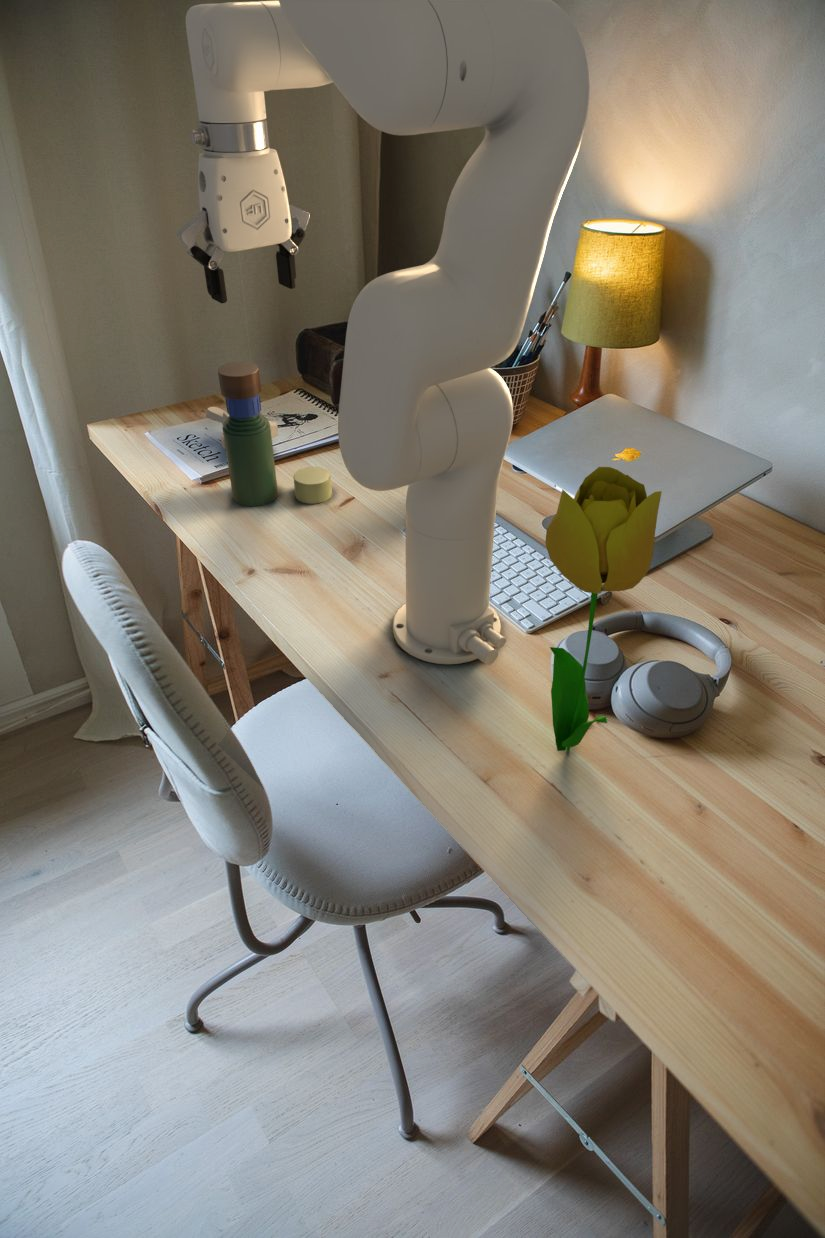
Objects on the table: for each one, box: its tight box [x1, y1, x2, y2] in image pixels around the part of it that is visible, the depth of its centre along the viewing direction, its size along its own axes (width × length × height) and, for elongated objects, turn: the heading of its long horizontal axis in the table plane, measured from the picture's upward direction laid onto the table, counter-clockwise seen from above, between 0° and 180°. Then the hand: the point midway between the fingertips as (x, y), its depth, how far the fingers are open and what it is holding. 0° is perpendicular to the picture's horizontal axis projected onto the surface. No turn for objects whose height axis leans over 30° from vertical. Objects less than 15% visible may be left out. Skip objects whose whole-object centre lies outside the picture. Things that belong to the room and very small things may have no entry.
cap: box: [224, 394, 262, 418], centre depth 113 cm, size 5×5×3 cm
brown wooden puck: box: [217, 361, 262, 400], centre depth 111 cm, size 5×5×3 cm
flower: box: [544, 466, 662, 753], centre depth 73 cm, size 9×8×30 cm
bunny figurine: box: [205, 406, 279, 450], centre depth 135 cm, size 10×5×15 cm
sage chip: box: [293, 466, 333, 505], centre depth 121 cm, size 5×5×3 cm
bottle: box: [221, 412, 279, 507], centre depth 117 cm, size 7×7×15 cm
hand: (254, 293), depth 104 cm, fingers open, 9 cm apart
